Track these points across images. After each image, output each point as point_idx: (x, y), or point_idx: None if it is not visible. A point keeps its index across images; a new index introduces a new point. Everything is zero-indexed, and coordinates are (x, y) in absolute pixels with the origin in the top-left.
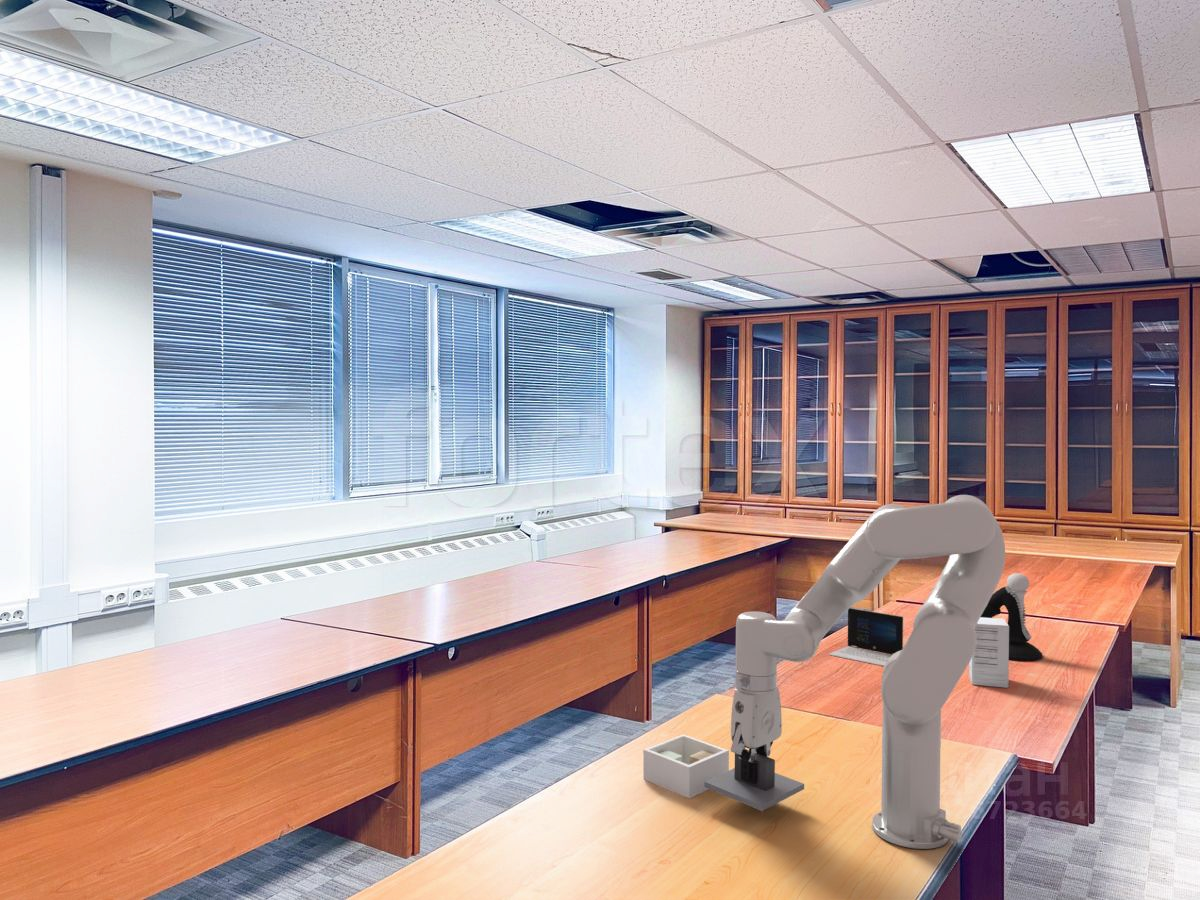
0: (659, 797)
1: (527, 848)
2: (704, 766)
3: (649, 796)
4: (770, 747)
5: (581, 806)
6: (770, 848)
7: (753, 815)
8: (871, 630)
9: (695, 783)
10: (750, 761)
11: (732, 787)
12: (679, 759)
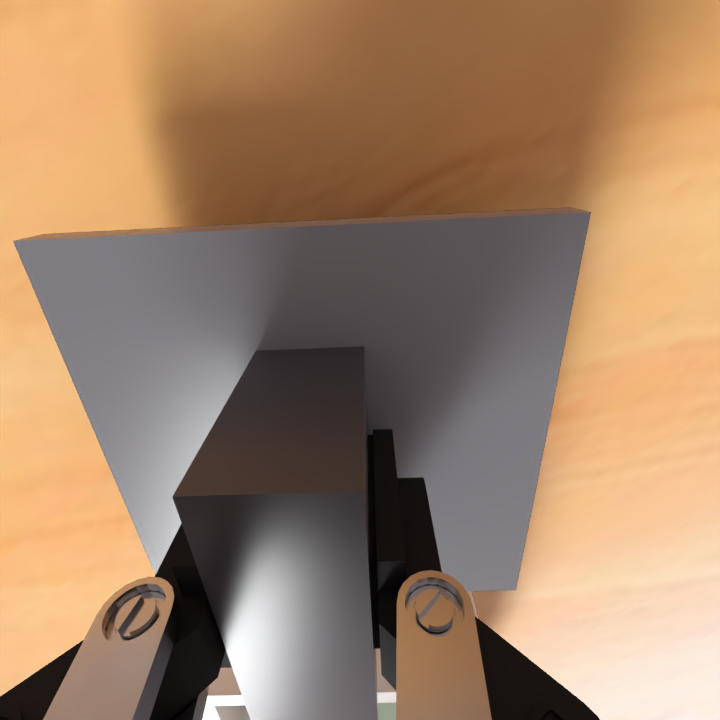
0: (521, 599)
1: None
2: (379, 660)
3: (536, 616)
4: (45, 666)
5: (714, 664)
6: (672, 13)
7: None
8: None
9: None
10: (469, 599)
11: (475, 487)
12: (380, 718)
